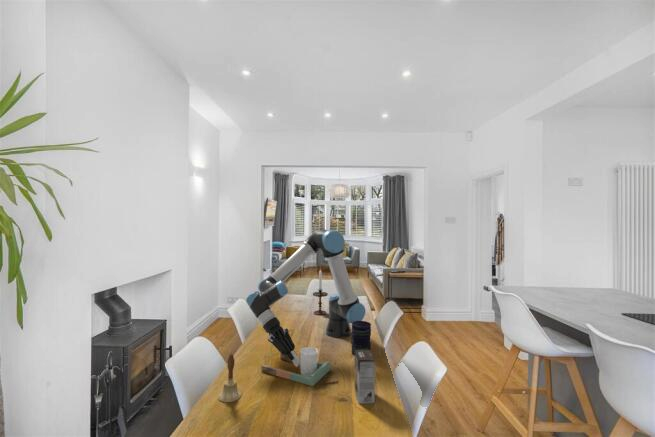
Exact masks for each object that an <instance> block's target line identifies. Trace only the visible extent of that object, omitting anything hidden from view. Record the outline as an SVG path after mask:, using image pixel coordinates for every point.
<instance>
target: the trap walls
mask: <svg viewBox="0 0 655 437" xmlns="http://www.w3.org/2000/svg"><path fill="white" fill-rule="evenodd" d="M297 357H298V358H299V360H300V356H297ZM291 372H292V371H288V370H284V369H280V368H277V370H276V375H275V376H277V377H280V378H282V379H287V380H290V373H291Z"/></svg>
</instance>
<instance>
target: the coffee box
mask: <svg viewBox="0 0 655 437" xmlns="http://www.w3.org/2000/svg"><path fill="white" fill-rule="evenodd" d="M354 393H355V396H356V400H357V403H358V404H360V405H361V404H362V405H363V404H375V401H376V400H375V397H376V396H375V393H376V360H375V357H374V355H373V353H372V351H370V350H355V356H354Z"/></svg>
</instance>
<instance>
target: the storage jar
mask: <svg viewBox="0 0 655 437" xmlns="http://www.w3.org/2000/svg"><path fill="white" fill-rule="evenodd" d="M371 328H372V323H370V322H369V321H366V320H362V321H354V322H352V323H351V335H352V336H351V355H352V356H353V357H355V350H370V351H371V350H372V343H371V336H372V329H371ZM371 352H372V351H371Z"/></svg>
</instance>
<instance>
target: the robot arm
mask: <svg viewBox="0 0 655 437" xmlns="http://www.w3.org/2000/svg"><path fill="white" fill-rule="evenodd" d="M345 244H346V242H345V237H344V235H343V234H342V233H341V232H340V231H337V230H335V229H319V230H316V231H315V232H313V233H312V234H310V235H309V237H307V238H306V239H305V240H303V242H302V245H301V246H300V247H299V248H298V249H297V250H296V251H295V252H293V254H292V255H291V256H289V257H288V259H286V260H285V261H284V262H283V263H282V264H281V265H280V266H279V267H278V268H276V270H274V271H273V272H272V273H271V274H270V275H269V276H268V277H267V278H265V279H264V278H263V279H262V280H260V281H259V282H258V285H257V288H258V290H256V291H254V292H251V293H250V294H249V295H248V296H247V297H246V298H245V299H246V300H245V302H246V304H247V306H248V307H249V309H250V310H251V312H252V314H254V316H255V318H256V319H257V320H258V322H259V323H260V325H261V326H262V328H263V330H264V331H265V333H267V334H268V335H269V338H267V341H268V342H269V343H271V345H273V346H274V347H275V349H276V350H278V352H279V353H280V354H282V355H285V356H286V355H287V356H288V357H289V359H290V360H291V361H292V362H291V363H293V365H294V366H295V368H297V367H298V366H299V367H300V360H299V358H298V357H299V356H298V355H297V353H296V351H295V348H296V346H295V343H294V342H293V339H292V336H291V335H290V333H289V329H288V328H283V327H282V326H281V322H280V320H279V319H278V317H277V316H276V313H274V312H273V310H272V309H271V307H270V306H272V305H274V304H275V303H277V302H278V301H279V300H281V299H282V298H284V297H285V296H286V295H287V294H289V289H288V286H287V284H285V283H284V282H285V281H286V280H288V278H289V277H290V276H292V274H294V273H295V272H296V271H297V270H298V269H299V268H300V267H301V266H302V265H303V264H304V263H305V262H306V261H307V260H308V259H309V258H310V257H311V256H315V255H316V254H317V253H319V252H320V251H321V253H322V256H323V258H324V259H326V260H327V263H328V266H329V270H330V273H331V276H332V280H333V282H334V285H335V288H336V291H337V293H334V294H331V295H329V298H328V322H327V324H326V327H325V334H326V335H327V336H329V337H332V338H345V337H349V336H350V335H352V326H351V324H352V322H354V321H364V318H365V316H366V311H367V310H366V306H365V305H364V304H363V303H361V302H360V298H359V296H358V294H355V292H354V289H353V286H352V283H351V279H350V275H349V273H348V270H347V267H346V263H345V260H344V256H343V255H344V252H345V250H344V247H345Z"/></svg>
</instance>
